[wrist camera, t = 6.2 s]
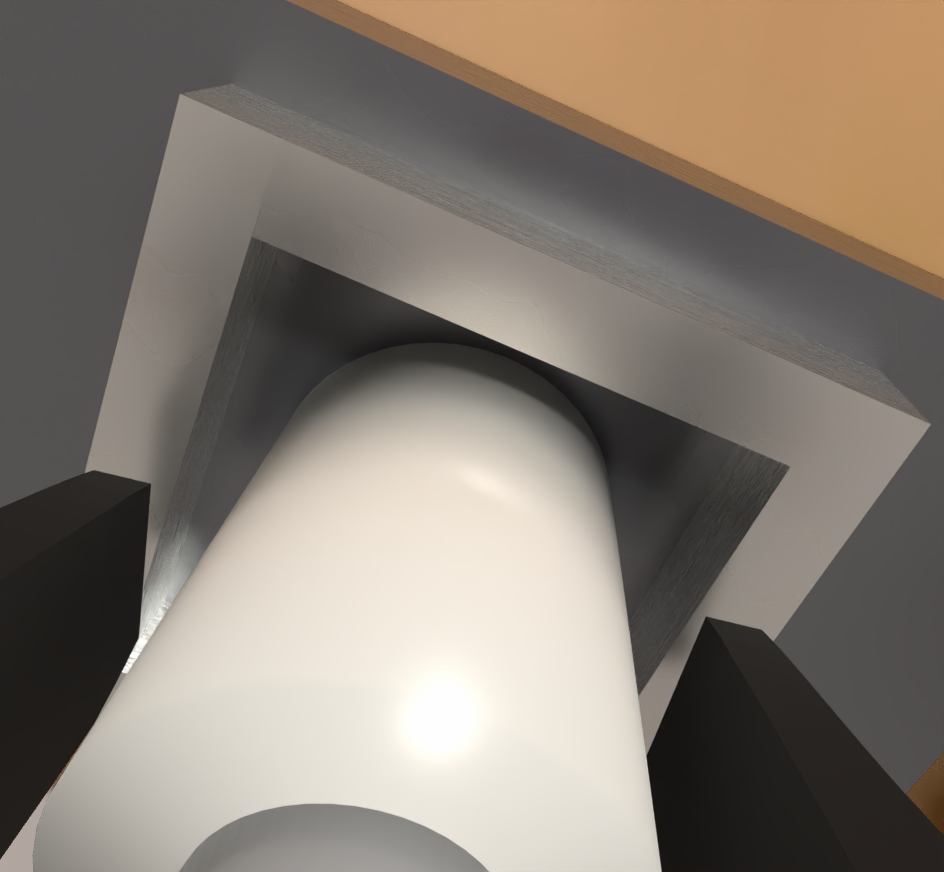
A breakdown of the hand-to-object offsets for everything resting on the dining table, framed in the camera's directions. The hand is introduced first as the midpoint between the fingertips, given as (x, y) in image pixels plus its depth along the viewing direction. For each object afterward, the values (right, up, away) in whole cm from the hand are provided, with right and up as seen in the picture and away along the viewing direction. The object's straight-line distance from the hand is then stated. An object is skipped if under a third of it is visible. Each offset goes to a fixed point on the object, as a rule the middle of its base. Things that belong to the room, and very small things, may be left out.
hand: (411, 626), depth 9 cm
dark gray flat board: (0, +2, +5) cm, 5 cm away
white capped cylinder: (0, +1, +2) cm, 2 cm away
